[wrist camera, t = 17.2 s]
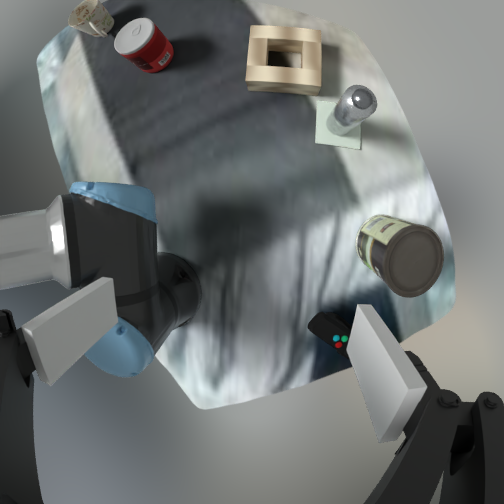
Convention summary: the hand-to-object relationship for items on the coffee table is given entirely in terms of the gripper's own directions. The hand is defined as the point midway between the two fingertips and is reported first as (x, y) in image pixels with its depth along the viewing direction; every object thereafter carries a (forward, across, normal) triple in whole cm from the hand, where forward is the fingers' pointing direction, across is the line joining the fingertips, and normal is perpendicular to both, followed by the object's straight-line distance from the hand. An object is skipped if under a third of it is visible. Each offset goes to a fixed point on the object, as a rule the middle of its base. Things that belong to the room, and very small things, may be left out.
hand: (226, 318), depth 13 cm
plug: (+34, +12, +19) cm, 41 cm away
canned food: (+35, -23, +33) cm, 53 cm away
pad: (+35, +12, +19) cm, 41 cm away
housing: (+35, +2, +30) cm, 46 cm away
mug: (+35, -39, +45) cm, 69 cm away
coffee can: (+35, +22, -1) cm, 41 cm away
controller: (+35, +15, -17) cm, 42 cm away
